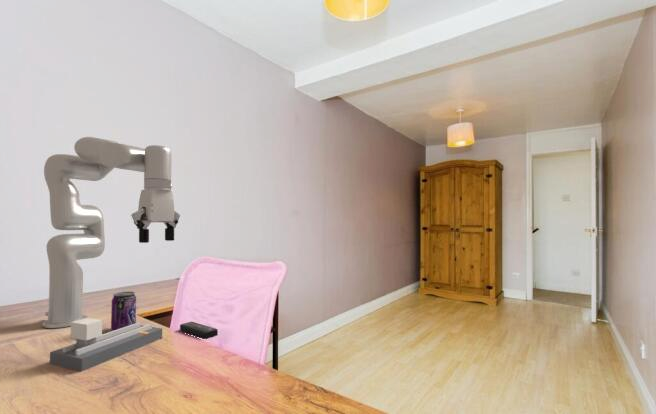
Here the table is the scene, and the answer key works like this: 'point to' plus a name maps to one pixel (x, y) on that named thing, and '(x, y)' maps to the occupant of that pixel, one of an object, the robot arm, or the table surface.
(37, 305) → the table surface
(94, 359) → the fader console
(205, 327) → the multiport hub
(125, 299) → the beverage can
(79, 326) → the fader knob
